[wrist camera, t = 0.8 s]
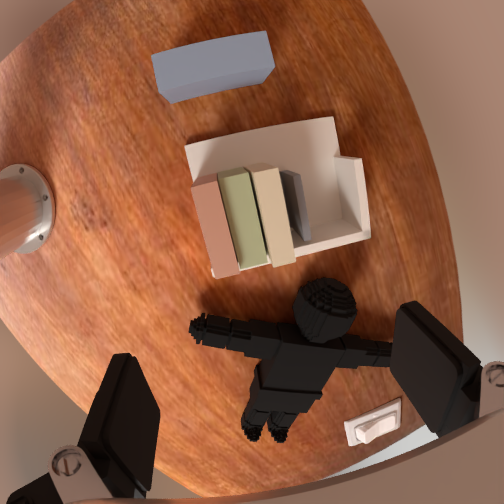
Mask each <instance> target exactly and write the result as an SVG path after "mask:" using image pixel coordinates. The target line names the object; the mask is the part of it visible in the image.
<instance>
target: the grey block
mask: <svg viewBox="0 0 504 504" xmlns="http://www.w3.org/2000/svg"><path fill="white" fill-rule="evenodd" d="M151 57H152V62H153V67H154V72H155V77H156V82H157V87H158V91H159V93H160V94H161V95H162V96H163V97H165V98H166V99H167V100H168V101H169V102H170V103H171V104H172V103H176V102H179V101H183V100H187V99H191V98H195V97H199V96H203V95H207V94H211V93H216V92H220V91H225V90H230V89H235V88H240V87H245V86H250V85H256V84H262V83H263V82H264V81H265V79H266V78H267V77H268V75H269V74H270V73H271V72H272V70H273V69H274V68H275V64H274V60H273V56H272V52H271V48H270V44H269V40H268V36H267V33H266V31H260V32H252V33H246V34H239V35H233V36H228V37H222V38H217V39H212V40H207V41H203V42H198V43H194V44H190V45H186V46H182V47H178V48H174V49H170V50H167V51H163V52H160V53H156V54H153V55H151Z"/></svg>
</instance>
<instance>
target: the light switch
mask: <svg viewBox="0 0 504 504" xmlns="http://www.w3.org/2000/svg"><path fill="white" fill-rule="evenodd" d="M400 417H401V399H400V398H398V399H395V400H393V401H391V402H388V403H386V404H384V405H382V406H380V407H378V408H375V409H373V410H371V411H369V412H366V413H364V414H362V415H359V416H357V417H355V418H352V419H350V420H347V421H345V422H344V424H345V429H346V434H347V439H348V444H349V446H354V445H357V444H360V443H362V442H364V443H365V444H367V443H369V442H371V441H372V440H373V439H374V438H376V437H378V436H381V435H383V434H385V433H388V432H390V431H393V430H395V429H397V428H399V426H400ZM355 433H356V434H355Z"/></svg>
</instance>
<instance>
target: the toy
mask: <svg viewBox="0 0 504 504" xmlns="http://www.w3.org/2000/svg"><path fill="white" fill-rule="evenodd" d="M292 308H293V311H294V317H295V320H296V323H297V324H298V325H293V324H287V323H281V322H278V323H277V325H276V323H271V322H265V321H260V320H254V319H250V320H249V322H246V321H241V320H236V319H232V320H231V321H230V318H225V317H220V316H215V315H210V314H208V315H207V318H206V319H205V313H202V314H201V317H199V316H198V318H197V319H196V318H194V321H193V320H191V322H190V326H189V333H191V336H194V339H196V344H200V341H201V340H202V345H205V346H211V347H216V348H222V349H223V348H225V346H226V349H227V350H233V351H239V352H244V356H246V357H252V358H259V359H262V361H261V363H260V365H256V367H255V369H254V375H255V377H254V379H253V381H252V384H251V386H250V398H251V399H250V401H249V403H248V405H247V407H246V409H245V411H244V412H245V413H243V415H242V417H241V427H242V430H244V435H247V439H250V441H253V442H257V440H259V436H261V431H262V430H263V429H262V428H263V426H264V425H265V422H266V421H267V425H268V431H269V432H271V436H272V437H274V441H277V443H284V441H286V438H287V437H288V436H287V433H288V429H289V428H290V426H291V424H292V423H293V422H294V420H295V419H296V417H297V416H298V414H299V413H307V412H308V410H309V409H310V407H311V406H312V404H313V403H314V401H315V399H318V400H320V398H321V397H322V395H323V394H322V391H321V390H322V389H323V387H324V385H325V384H326V382H327V381H328V379H329V377H330V376H331V374H332V372H333V371H334V369H335V367H339V368H352V369H357V367H358V366H373V367H390V359H391V352H392V345H393V343H392V342H391V343H389V342H383V341H373V340H365V339H361V338H360V337H359V336H357V335H349V334H345V333H347V331H348V330H349V328H350V327H351V325H352V323H353V321H354V319H355V317H356V315H357V309H356V302H355V299H354V297H353V295H352V292H351V291H350V290H349V288H348V287H347V286H345V284H343V283H341V282H339V281H337V280H336V279H332V278H325V277H323V278H321V279H316V280H314V281H312V282H310V281H308V283H307V284H306V285H305V286H303V287H301V288H300V290H299V292H298V295H297V297H296V299H295V302H294V304H293V307H292ZM270 414H271V415H270ZM269 416H270V417H269ZM267 419H268V420H267Z"/></svg>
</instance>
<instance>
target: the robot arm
mask: <svg viewBox="0 0 504 504" xmlns="http://www.w3.org/2000/svg"><path fill="white" fill-rule="evenodd" d="M47 196H48V197H47ZM54 221H55V203H54V198H53V194H52V191H51V188H50V186H49V184H48V182H47V180H46V179H45V177H44V176H43V175H42V174H41V173H40V171H38V170H37V169H36V168H34V167H32V166H30V165H28V164H22V163H21V164H14V165H10V166H8V167H6V168H4V169H3V170H2V171H1V172H0V260H2V259H3V258H5V257H6V256H7V255H9V254H11V253H12V252H16V253H20V254H27V253H31V252H33V251H35V250H37V249H38V248H40V247H41V246H42V245H43V244H44V243H45V242H46V241H47V239H48V238H49V236H50V234H51V232H52V229H53V226H54ZM480 363H481V361H480V360H479V359H478V358H477V357H476V356H475V355H474V354H473V353H472V352H471V351H470V350H469V349H468V348H467V347H466V346H465V345H464V344H463V343H462V342H461V341H460V340H459V339H458V338H457V337H455V336H454V335H453V334H452V333H451V332H450V331H449V330H448V329H447V328H446V327H445V326H444V325H443V324H442V323H441V322H439V321H438V320H437V319H436V318H435V317H434V316H433V315H432V314H431V313H430V312H428V311H427V310H426V309H425V308H424V307H423V306H422V305H421V304H420V303H418V302H417V301H411V302H408V303H404V304H402V305H401V306H400V309H398V310H397V312H396V321H395V329H394V337H393V345H392V352H391V359H390V371H391V373H392V375H393V376H394V378H395V379H396V381H397V382H398V383H399V385H400V386H401V388H402V389H403V391H404V392H405V394H406V395H407V397H408V398H409V400H410V401H411V403H412V404H413V406H414V407H415V409H416V410H417V412H418V413H419V415H420V416H421V418H422V419H423V421H424V422H425V424H426V425H427V427H428V428H429V430H430V431H431V432H432V433H436V434H437V436H438V437H439V438H438V439H436V440H433V441H431V442H429V443H427V444H425V445H423V446H420V447H418V448H416V449H414V450H411V451H409V452H406V453H404V454H401V455H399V456H396V457H393V458H391V459H388V460H385V461H383V462H380V463H377V464H374V465H371V466H368V467H365V468H362V469H359V470H356V471H353V472H349V473H346V474H342V475H339V476H335V477H332V478H328V479H324V480H320V481H316V482H311V483H307V484H302V485H298V486H293V487H288V488H282V489H277V490H271V491H264V492H258V493H250V494H242V495H233V496H223V497H209V498H186V499H146V491H150V489H151V484H152V475H153V467H154V459H155V451H156V444H157V437H158V430H159V423H160V409H159V407H158V405H157V402H156V400H155V398H154V396H153V394H152V392H151V390H150V387H149V385H148V383H147V381H146V379H145V376H144V374H143V372H142V369H141V367H140V365H139V362H138V360H137V358H136V357H135V356H133V357H132V355H131V354H130V353H120V354H114V355H113V356H112V359H111V361H110V363H109V366H108V368H107V371H106V373H105V376H104V378H103V381H102V383H101V386H100V388H99V391H98V392H97V393H96V395H95V398H94V400H93V403H92V406H91V408H90V411H89V414H88V417H87V419H86V422H85V425H84V428H83V430H82V433H81V436H80V439H79V442H78V445H77V446H73V445H66V446H63V447H60V448H58V449H57V450H55V451H54V453H52V455H51V456H50V458H49V460H48V470H49V472H48V473H47V474H45V475H43V476H41V477H40V478H38V479H36V480H34V481H33V482H31V483H29V484H27V485H25V486H24V487H22V488H20V489H18V490H16V491H15V492H13V493H12V494H11V495H10V497H9V498H8V500H7V503H6V504H504V362H500V361H499V362H497V361H494V362H491V363H488V364H487V365H485V367H484V368H483V367H482V366H481V365H480Z"/></svg>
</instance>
